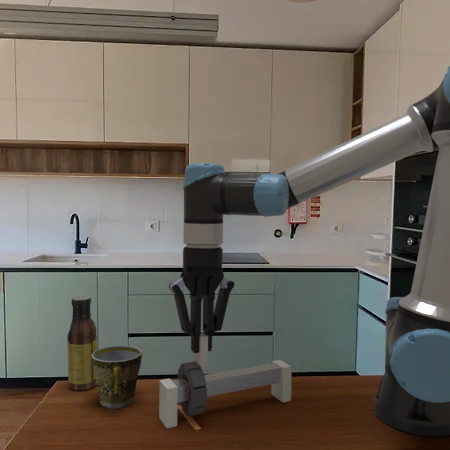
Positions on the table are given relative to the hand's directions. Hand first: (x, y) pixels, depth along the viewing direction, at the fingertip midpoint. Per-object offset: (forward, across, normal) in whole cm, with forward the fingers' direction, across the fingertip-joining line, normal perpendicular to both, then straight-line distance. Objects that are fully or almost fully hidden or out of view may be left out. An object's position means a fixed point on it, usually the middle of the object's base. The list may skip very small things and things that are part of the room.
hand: (201, 368), depth 82 cm
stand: (+9, -6, 0) cm, 11 cm away
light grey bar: (+5, -6, 0) cm, 8 cm away
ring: (+9, +2, 0) cm, 9 cm away
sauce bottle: (+9, +19, -23) cm, 31 cm away
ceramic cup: (+9, +14, -11) cm, 20 cm away
